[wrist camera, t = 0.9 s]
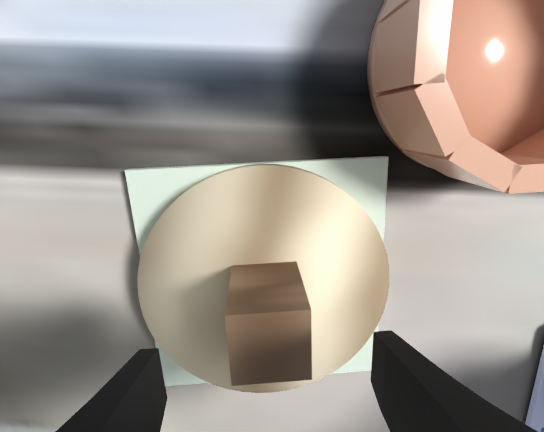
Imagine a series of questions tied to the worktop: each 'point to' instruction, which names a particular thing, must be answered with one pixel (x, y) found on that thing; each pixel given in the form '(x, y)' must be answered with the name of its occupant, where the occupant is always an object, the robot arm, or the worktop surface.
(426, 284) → the worktop surface
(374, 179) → the mat
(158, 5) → the worktop surface
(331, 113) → the worktop surface
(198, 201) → the lid
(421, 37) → the bowl
